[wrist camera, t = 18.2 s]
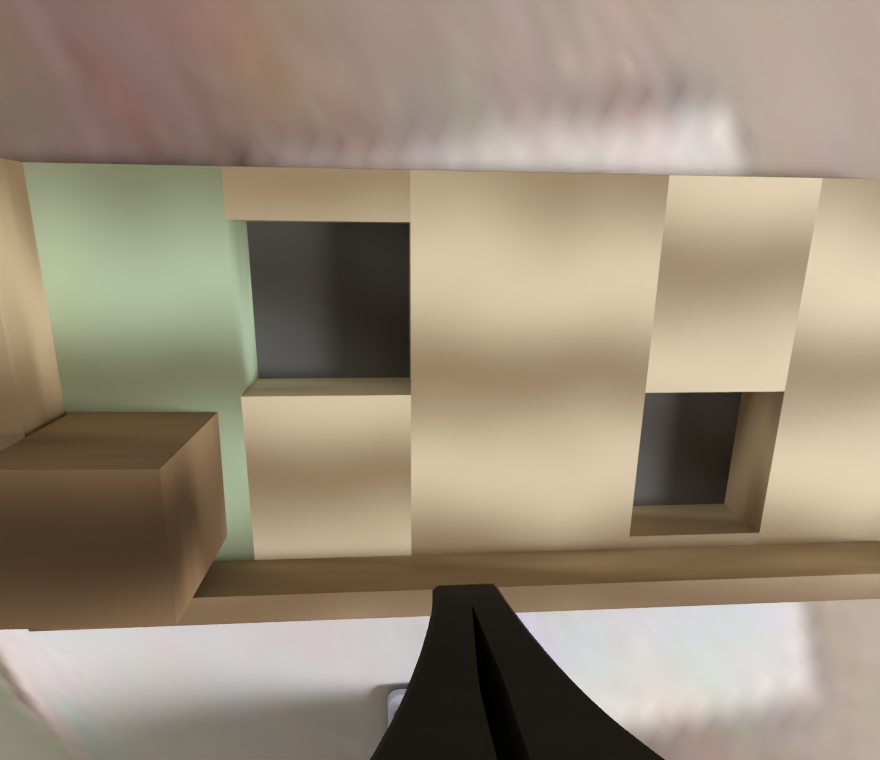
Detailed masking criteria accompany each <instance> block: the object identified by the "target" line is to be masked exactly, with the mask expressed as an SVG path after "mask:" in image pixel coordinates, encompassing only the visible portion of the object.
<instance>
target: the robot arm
mask: <svg viewBox="0 0 880 760" xmlns="http://www.w3.org/2000/svg"><path fill="white" fill-rule="evenodd" d="M396 710H397V711H396ZM370 760H665V759H663V758H662V757H661V756H659V755H658V754H656V753H655V752H654V751H652V750H651V749H650V748H649V747H647V746H646V745H645V744H643V743H642V742H641V741H639V740H638V739H637V738H636V737H634V736H633V735H632V734H630V733H629V732H628V731H627V730H625V729H624V728H623V727H622V726H620V725H619V724H618V723H617V722H616V721H614V720H613V719H612V718H611V717H610V716H608V715H607V714H606V713H605V712H604V711H603V710H602V709H601V708H600V707H599V706H597V705H596V704H595V703H594V702H593V701H592V700H591V699H590V698H589V697H588V696H587V695H586V694H585V693H584V692H583V691H582V690H581V689H580V688H579V687H578V686H577V685H576V684H575V683H574V682H573V681H572V680H571V679H570V678H569V677H568V676H567V675H566V674H565V673H564V672H563V670H562V669H561V668H560V667H559V666H558V665H557V664H556V663H555V662H554V661H553V659H552V658H551V657H550V656H549V655H548V654H547V653H546V651H545V650H544V649H543V648H542V647H541V645H540V644H539V643H538V642H537V640H536V639H535V638H534V637H533V636H532V634H531V633H530V632H529V631H528V629H527V628H526V627H525V626H524V624H523V623H522V622H521V620H520V619H519V618H518V616H517V615H516V614H515V612H514V611H513V609H512V608H511V607H510V605H509V604H508V602H507V601H506V600H505V598H504V597H503V595H502V594H501V592H500V591H499V589H498V588H497V587H496V586H495V585H494V584H467V585H438V586H437V587H436V588H434V589H433V590H432V612H431V617H430V621H429V626H428V630H427V633H426V637H425V640H424V643H423V647H422V650H421V653H420V656H419V659H418V662H417V664H416V667H415V670H414V672H413V675H412V677H411V680H410V682H409V685H408V687H407V689H397V690H394V691H392V692H391V693H390V694H389V696H388V729H387V731H386V733H385V734H384V736H383V738H382V740H381V742H380V743H379V745H378V747H377V749H376V751H375V752H374V754H373V756H372V757H371V759H370Z"/></svg>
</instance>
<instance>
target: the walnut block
mask: <svg viewBox="0 0 880 760" xmlns="http://www.w3.org/2000/svg"><path fill="white" fill-rule="evenodd" d="M227 536H228V535H227V523H226V510H225V498H224V485H223V472H222V460H221V447H220V435H219V422H218V412H71V413H69V414H67V415H66V416H64V417H62V418H60V419H58V420H56V421H55V422H53V423H51V424H49V425H47V426H45V427H44V428H42V429H40V430H38V431H36V432H34V433H33V434H31V435H29V436H27V437H25V438H23V439H21V440H20V441H18V442H16V443H14V444H12V445H10V446H9V447H7V448H5V449H3V450H1V451H0V630H1V629H42V628H82V627H123V626H163V625H177V624H178V622H179V620H180V619H181V617H182V615H183V613H184V612H185V610H186V608H187V606H188V605H189V603H190V601H191V599H192V597H193V596H194V594H195V592H196V590H197V589H198V587H199V585H200V583H201V582H202V580H203V578H204V576H205V575H206V573H207V571H208V569H209V568H210V566H211V564H212V562H213V561H214V559H215V557H216V555H217V554H218V552H219V550H220V548H221V546H222V545H223V543H224V541H225V539H226V538H227Z"/></svg>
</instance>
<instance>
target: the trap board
mask: <svg viewBox="0 0 880 760" xmlns="http://www.w3.org/2000/svg"><path fill="white" fill-rule="evenodd" d="M71 412H218V422H219V435H220V447H221V460H222V472H223V485H224V498H225V510H226V523H227V535H228V536H227V538H226V539H225V541H224V543H223V545H222V546H221V548H220V550H219V552H218V554H217V555H216V557H215V559H214V561H213V562H212V564H211V566H210V568H209V569H208V571H207V573H206V575H205V576H204V578H203V580H202V582H201V583H200V585H199V587H198V589H197V590H196V592H195V594H194V596H193V597H192V599H191V601H190V603H189V605H188V606H187V608H186V610H185V612H184V613H183V615H182V617H181V619H180V620H179V622H178V624H177V625H163V626H182V625H208V624H234V623H260V622H286V621H311V620H337V619H363V618H389V617H415V616H431V612H432V590H433V589H434V588H436V587H437V586H438V585H467V584H494V585H495V586H496V587H497V588H498V589H499V591H500V592H501V594H502V595H503V597H504V598H505V600H506V601H507V602H508V604H509V605H510V607H511V608H512V609H513V611H514V612H515V613H518V612H544V611H570V610H596V609H622V608H648V607H674V606H700V605H725V604H751V603H777V602H803V601H829V600H855V599H880V179H838V178H788V177H738V176H688V175H637V174H587V173H537V172H487V171H437V170H386V169H336V168H286V167H236V166H185V165H135V164H85V163H35V162H19V161H13V160H8V159H3V158H0V451H1V450H3V449H5V448H7V447H9V446H10V445H12V444H14V443H16V442H18V441H20V440H21V439H23V438H25V437H27V436H29V435H31V434H33V433H34V432H36V431H38V430H40V429H42V428H44V427H45V426H47V425H49V424H51V423H53V422H55V421H56V420H58V419H60V418H62V417H64V416H66V415H67V414H69V413H71ZM130 627H156V626H123V627H82V628H42V629H28V630H29V631H53V630H79V629H104V628H130Z"/></svg>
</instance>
